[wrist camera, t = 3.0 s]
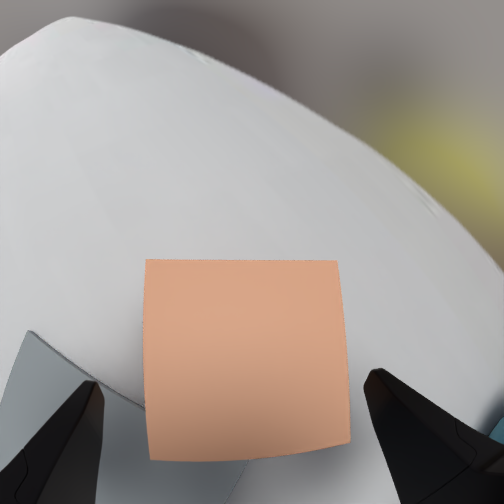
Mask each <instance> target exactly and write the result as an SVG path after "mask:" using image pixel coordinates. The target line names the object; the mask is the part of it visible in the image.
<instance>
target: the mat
mask: <svg viewBox="0 0 504 504" xmlns="http://www.w3.org/2000/svg"><path fill="white" fill-rule="evenodd" d="M85 380H93V381H97V382H98V384H99V386H100V388H101V391H102V393H103V395H104V399H105V407H104V422H103V442H102V450H101V457H100V464H99V472H98V480H97V490H96V500H95V504H225V502H226V500H227V499H228V497H229V495H230V493H231V492H232V490H233V488H234V486H235V485H236V483H237V481H238V479H239V477H240V476H241V474H242V472H243V470H244V468H245V466H246V464H247V463H248V461H249V459H248V460H233V461H204V462H191V461H162V460H150V453H149V444H148V434H147V423H146V410H145V408H143V407H141V406H139V405H138V404H136V403H134V402H132V401H130V400H129V399H127V398H125V397H124V396H122V395H120V394H119V393H117V392H115V391H114V390H112V389H110V388H109V387H107V386H106V385H104V384H103V383H101V382H99V381H98V380H96V379H95V378H93V377H92V376H90V375H89V374H87V373H86V372H84V371H83V370H82V369H80V368H79V367H77V366H76V365H75V364H73V363H72V362H70V361H69V360H68V359H66V358H65V357H64V356H62V355H61V354H60V353H58V352H57V351H56V350H54V349H53V348H52V347H51V346H49V345H48V344H47V343H46V342H44V341H43V340H42V339H41V338H40V337H38V336H37V335H36V334H35V333H34V332H32V331H29V330H28V331H27V333H26V335H25V338H24V340H23V342H22V345H21V347H20V350H19V352H18V355H17V357H16V360H15V362H14V365H13V368H12V370H11V373H10V376H9V379H8V382H7V385H6V388H5V391H4V394H3V397H2V400H1V404H0V471H1V470H2V469H3V468H4V467H5V466H7V465H8V464H9V462H10V461H11V460H12V459H13V458H14V457H15V456H16V455H17V454H18V453H19V451H20V450H21V449H24V446H25V445H26V444H27V443H28V441H29V440H30V439H31V438H32V437H33V436H34V435H35V434H36V432H37V431H38V430H39V429H40V428H41V427H42V426H43V425H44V424H45V422H46V421H47V420H48V419H49V418H50V417H51V416H52V415H53V414H54V413H55V411H56V410H57V409H58V408H59V407H60V406H61V405H62V404H63V403H64V402H65V401H66V399H67V398H68V397H69V396H70V395H71V394H72V393H73V392H74V391H75V390H76V389H77V388H78V387H79V386H80V384H81V383H82V382H83V381H85Z"/></svg>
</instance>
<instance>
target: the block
mask: <svg viewBox="0 0 504 504" xmlns="http://www.w3.org/2000/svg"><path fill="white" fill-rule="evenodd" d="M143 368H144V393H145V410H146V423H147V434H148V444H149V453H150V460H162V461H191V462H204V461H233V460H248V459H259V458H268V457H276V456H284V455H291V454H297V453H303V452H309V451H314V450H319V449H324V448H329V447H334V446H338V445H342V444H346V443H350V397H349V376H348V359H347V346H346V334H345V323H344V313H343V303H342V294H341V286H340V278H339V270H338V263H337V261H313V260H160V259H146V265H145V283H144V309H143Z"/></svg>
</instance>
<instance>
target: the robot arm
mask: <svg viewBox="0 0 504 504" xmlns="http://www.w3.org/2000/svg"><path fill="white" fill-rule="evenodd" d="M364 394H365V397H366V401H367V405H368V409H369V412H370V416H371V420H372V424H373V427H374V430H375V432H376V435H377V438H378V440H379V443H380V446H381V448H382V451H383V454H384V457H385V459H386V462H387V465H388V468H389V471H390V473H391V476H392V479H393V482H394V485H395V488H396V491H397V494H398V497H399V500H400V503H401V504H504V444H502V443H499V442H497V441H495V440H493V439H492V438H490V437H488V436H486V435H484V434H482V433H480V432H478V431H476V430H474V429H473V428H471V427H469V426H468V425H466V424H464V423H463V422H461V421H460V420H458V419H457V418H454V416H452V415H451V414H449V413H448V412H446V411H445V410H443V409H442V408H440V407H439V406H437V405H436V404H434V403H433V402H431V401H430V400H428V399H427V398H425V397H424V396H423V395H421V394H420V393H418V392H417V391H415V390H414V389H412V388H411V387H409V386H408V385H406V384H405V383H404V382H402V381H401V380H399V379H398V378H396V377H395V376H393V375H392V374H390V373H389V372H388V371H386V370H385V369H383V368H378V369H373V370H371V371H370V373H369V375H368V377H367V379H366V381H365V383H364ZM104 407H105V399H104V395H103V393H102V391H101V388H100V386H99V384H98V382H97V381H93V380H85V381H83V382H82V383H81V384H80V386H79V387H78V388H77V389H76V390H75V391H74V392H73V393H72V394H71V395H70V396H69V397H68V398H67V399H66V401H65V402H64V403H63V404H62V405H61V406H60V407H59V408H58V409H57V410H56V411H55V413H54V414H53V415H52V416H51V417H50V418H49V419H48V420H47V421H46V422H45V424H44V425H43V426H42V427H41V428H40V429H39V430H38V431H37V432H36V434H35V435H34V436H33V437H32V438H31V439H30V440H29V441H28V443H27V444H26V445H25V446H24V449H21V450H20V451H19V453H18V454H17V455H16V456H15V457H14V458H13V459H12V460H11V461H10V462H9V464H8V465H7V466H5V467H4V468H3V469H2V470H1V471H0V504H95V500H96V490H97V480H98V472H99V464H100V457H101V450H102V442H103V422H104Z"/></svg>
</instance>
